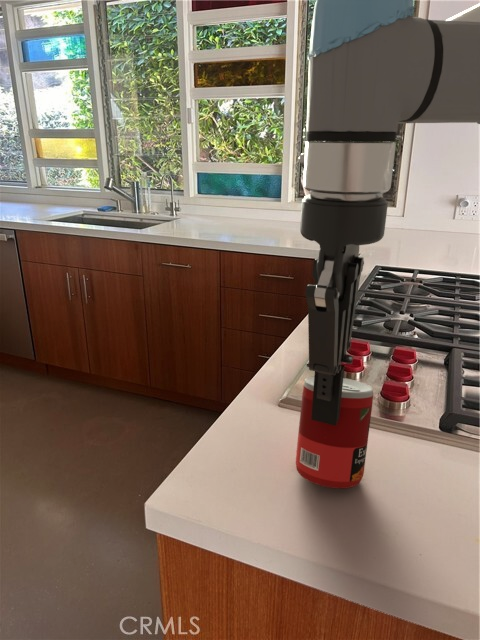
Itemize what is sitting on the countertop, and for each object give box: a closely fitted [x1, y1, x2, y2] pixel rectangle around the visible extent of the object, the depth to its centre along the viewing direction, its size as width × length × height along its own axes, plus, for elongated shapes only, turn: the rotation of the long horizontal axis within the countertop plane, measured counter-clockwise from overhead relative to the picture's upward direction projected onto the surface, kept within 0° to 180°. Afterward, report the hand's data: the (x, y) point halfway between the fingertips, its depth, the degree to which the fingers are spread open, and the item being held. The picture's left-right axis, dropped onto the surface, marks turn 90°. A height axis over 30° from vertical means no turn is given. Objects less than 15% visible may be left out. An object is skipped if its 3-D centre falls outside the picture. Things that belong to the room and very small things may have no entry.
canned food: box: [295, 375, 374, 489], centre depth 54 cm, size 8×8×11 cm
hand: (325, 419), depth 50 cm, fingers closed
